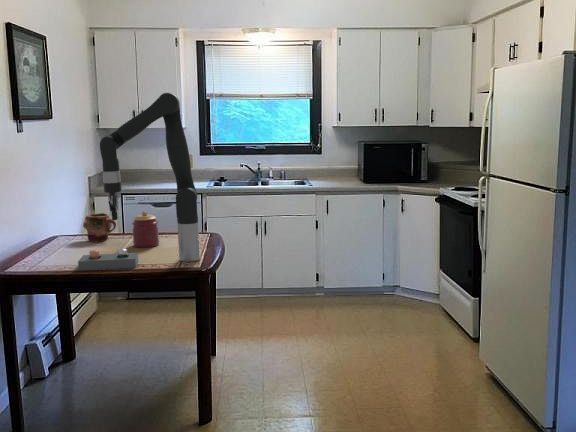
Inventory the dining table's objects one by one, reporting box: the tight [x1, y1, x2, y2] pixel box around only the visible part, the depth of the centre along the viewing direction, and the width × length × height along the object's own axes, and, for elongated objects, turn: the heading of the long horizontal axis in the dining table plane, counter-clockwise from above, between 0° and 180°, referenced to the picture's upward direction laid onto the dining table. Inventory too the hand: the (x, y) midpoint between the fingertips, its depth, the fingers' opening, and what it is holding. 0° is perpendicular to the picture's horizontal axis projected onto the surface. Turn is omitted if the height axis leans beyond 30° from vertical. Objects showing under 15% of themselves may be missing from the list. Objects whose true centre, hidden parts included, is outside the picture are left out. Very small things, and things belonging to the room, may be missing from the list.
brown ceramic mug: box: [82, 212, 117, 243], centre depth 327 cm, size 20×12×14 cm, turn 76°
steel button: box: [117, 248, 128, 257], centre depth 273 cm, size 4×4×3 cm
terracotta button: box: [89, 249, 100, 259], centre depth 271 cm, size 4×4×3 cm
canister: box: [131, 210, 160, 249], centre depth 312 cm, size 13×13×18 cm
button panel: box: [77, 252, 139, 271], centre depth 273 cm, size 24×12×4 cm, turn 98°
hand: (115, 219), depth 276 cm, fingers closed
